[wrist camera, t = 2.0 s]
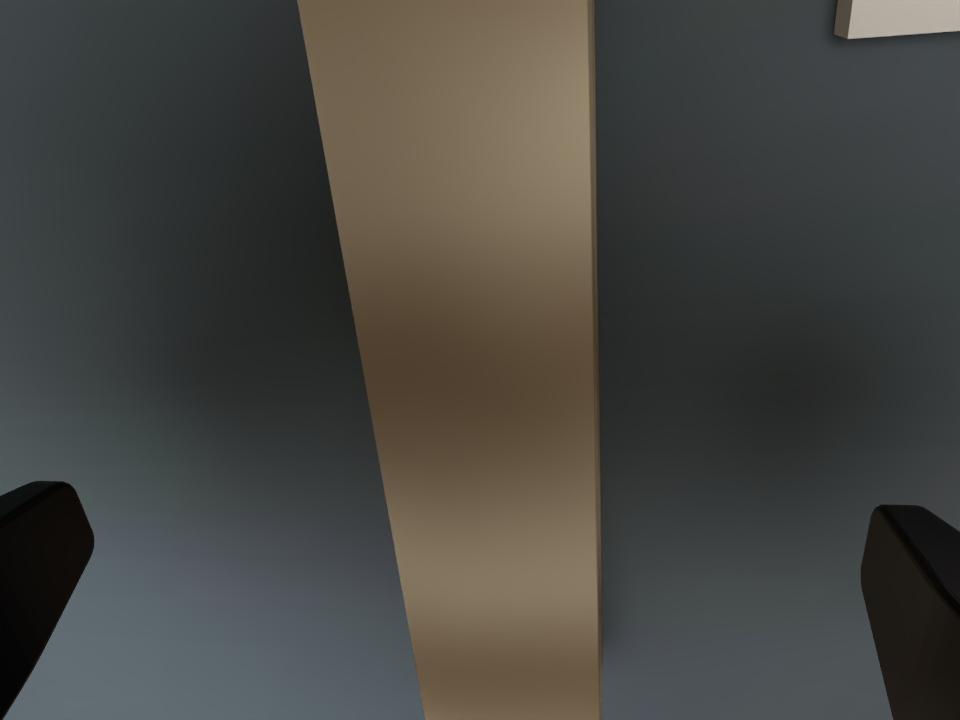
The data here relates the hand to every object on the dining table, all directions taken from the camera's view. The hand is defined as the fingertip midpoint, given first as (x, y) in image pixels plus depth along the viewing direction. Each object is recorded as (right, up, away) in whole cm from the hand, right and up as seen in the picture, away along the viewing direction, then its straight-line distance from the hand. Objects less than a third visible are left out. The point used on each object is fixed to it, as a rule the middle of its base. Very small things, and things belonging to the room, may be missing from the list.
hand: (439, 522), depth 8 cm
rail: (+1, +3, +6) cm, 7 cm away
